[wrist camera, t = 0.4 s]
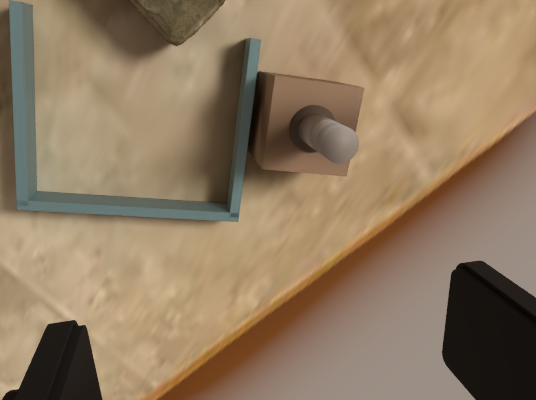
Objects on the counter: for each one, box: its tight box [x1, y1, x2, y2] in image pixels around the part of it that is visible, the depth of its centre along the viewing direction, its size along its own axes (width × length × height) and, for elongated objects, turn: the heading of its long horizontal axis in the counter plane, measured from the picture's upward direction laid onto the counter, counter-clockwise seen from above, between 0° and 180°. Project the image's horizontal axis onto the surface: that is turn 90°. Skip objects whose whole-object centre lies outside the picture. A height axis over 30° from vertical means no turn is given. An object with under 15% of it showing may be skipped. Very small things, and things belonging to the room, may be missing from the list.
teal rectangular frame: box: [9, 0, 261, 222], centre depth 35 cm, size 15×18×2 cm
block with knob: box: [249, 71, 364, 176], centre depth 33 cm, size 7×7×12 cm
